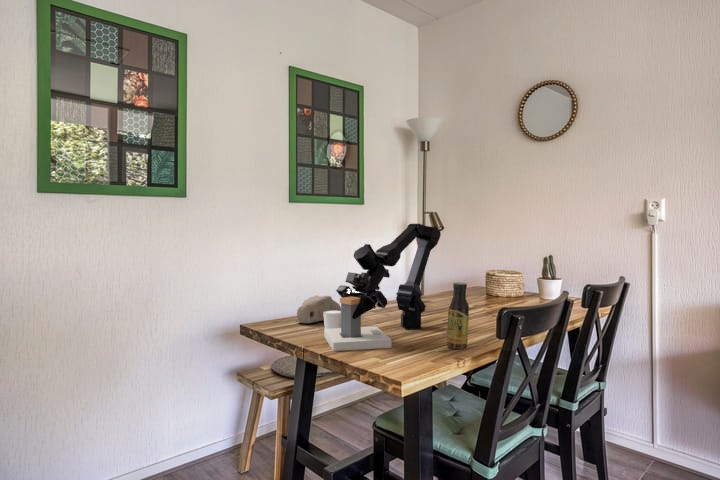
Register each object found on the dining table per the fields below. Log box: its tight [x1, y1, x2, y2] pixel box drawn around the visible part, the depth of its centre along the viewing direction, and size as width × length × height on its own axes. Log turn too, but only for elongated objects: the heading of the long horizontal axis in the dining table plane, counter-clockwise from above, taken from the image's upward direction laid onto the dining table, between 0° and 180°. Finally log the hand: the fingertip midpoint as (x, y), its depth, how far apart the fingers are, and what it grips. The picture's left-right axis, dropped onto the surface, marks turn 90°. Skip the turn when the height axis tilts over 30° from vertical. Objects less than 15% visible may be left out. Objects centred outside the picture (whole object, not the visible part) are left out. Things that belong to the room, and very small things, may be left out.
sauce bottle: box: [446, 281, 470, 350], centre depth 138 cm, size 7×6×20 cm
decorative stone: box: [295, 295, 341, 324], centre depth 175 cm, size 20×8×10 cm, turn 136°
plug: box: [339, 296, 362, 338], centre depth 143 cm, size 5×5×12 cm
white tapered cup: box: [323, 310, 341, 329], centre depth 158 cm, size 7×7×7 cm
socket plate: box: [323, 326, 392, 352], centre depth 144 cm, size 18×18×3 cm
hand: (347, 317), depth 142 cm, fingers closed on plug, 4 cm apart
